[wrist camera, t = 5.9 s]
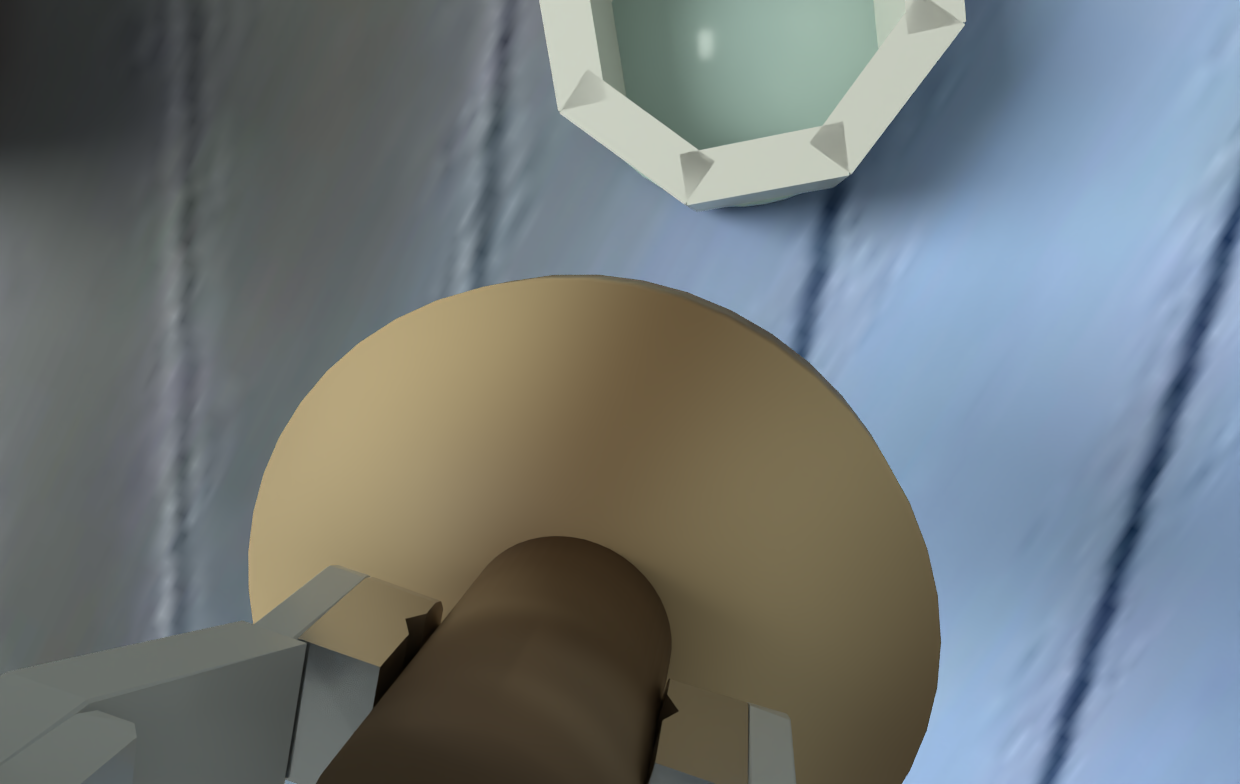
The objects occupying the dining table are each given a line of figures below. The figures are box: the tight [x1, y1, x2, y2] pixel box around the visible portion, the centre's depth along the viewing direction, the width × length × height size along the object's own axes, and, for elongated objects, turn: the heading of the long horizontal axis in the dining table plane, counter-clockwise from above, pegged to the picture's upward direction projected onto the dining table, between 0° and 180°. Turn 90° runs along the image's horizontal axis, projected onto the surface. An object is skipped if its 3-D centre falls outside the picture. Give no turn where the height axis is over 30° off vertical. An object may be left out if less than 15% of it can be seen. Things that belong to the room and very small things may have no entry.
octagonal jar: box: [539, 0, 966, 212], centre depth 22 cm, size 11×11×5 cm
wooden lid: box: [249, 275, 941, 784], centre depth 9 cm, size 10×10×5 cm
